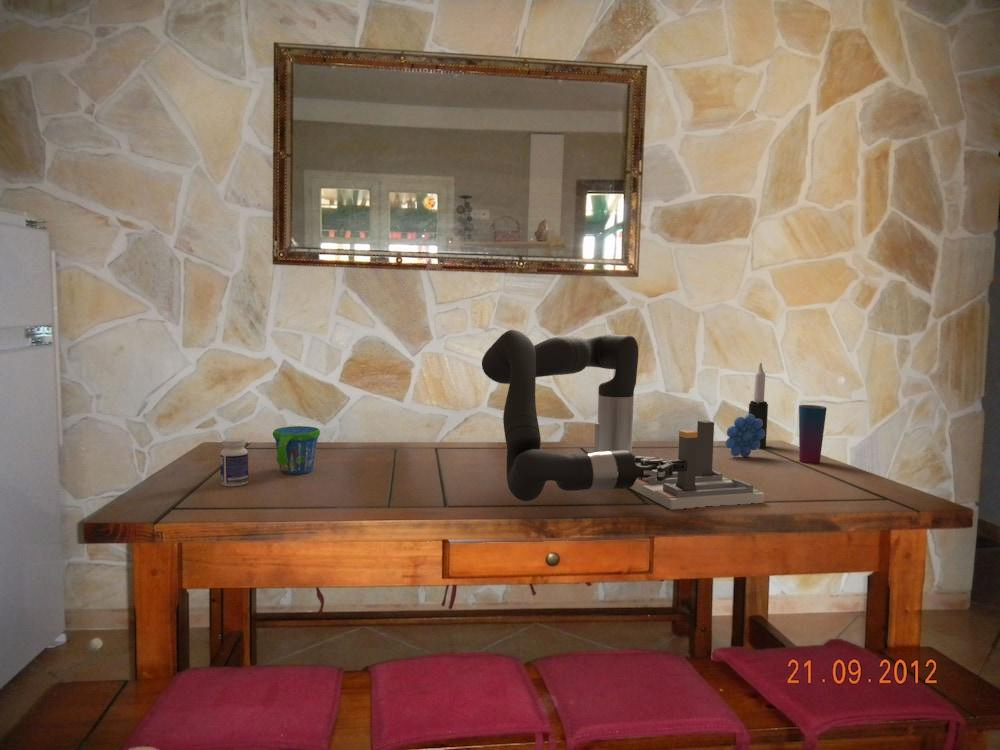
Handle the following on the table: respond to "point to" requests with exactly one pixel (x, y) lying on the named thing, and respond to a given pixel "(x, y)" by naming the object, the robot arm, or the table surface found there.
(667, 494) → the panel
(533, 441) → the robot arm
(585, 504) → the table surface
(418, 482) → the table surface
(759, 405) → the candle
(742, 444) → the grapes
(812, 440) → the cup
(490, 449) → the table surface
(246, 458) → the pill bottle
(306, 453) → the snack cup
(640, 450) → the table surface
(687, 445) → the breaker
